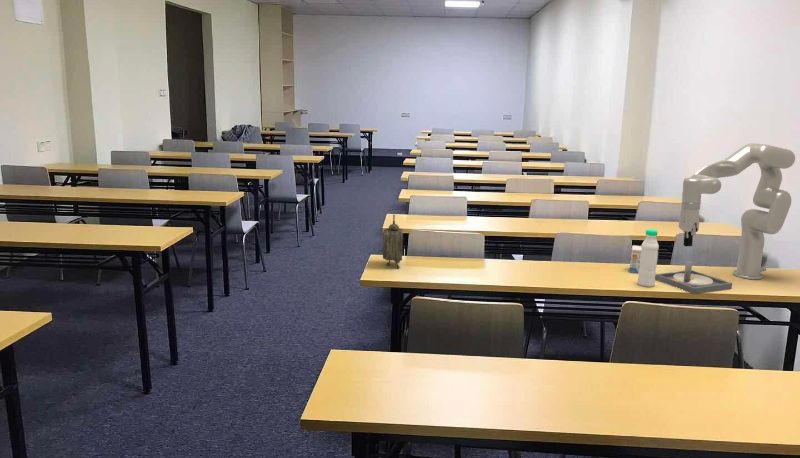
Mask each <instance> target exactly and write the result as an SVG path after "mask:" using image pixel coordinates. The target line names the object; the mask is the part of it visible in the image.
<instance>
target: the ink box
mask: <svg viewBox="0 0 800 458" xmlns="http://www.w3.org/2000/svg"><path fill="white" fill-rule="evenodd" d="M641 249H642V247H641V245H632V246H631V250H630V251H631V252H630V253H631V254H630V259H629V260H630V262H629V270H628V271H629V273H632V274H639V269H640V255H641Z"/></svg>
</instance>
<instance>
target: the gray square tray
mask: <svg viewBox="0 0 800 458" xmlns="http://www.w3.org/2000/svg"><path fill="white" fill-rule="evenodd" d="M678 273H685V270H681V271H680V270H679V271H678V270H675V271H670V272H663V273H656V276H655V281H658V282H660V283H663V284H666V285H668V286H671V287H674V288H676V287H677V288H676V289H679V288H680V289H679V290H682V289H683V290H682V291H684V290H685V292H687V291H688V293H690V294H693V295H697V294H705V293H711V292H717V291H718V292H719V291H724V290H731V289H732V288H733V283H732V282H731V281H730V282H729V281H726V280H723V279H720V278H717V277H714V276H711V275H708V274H705V273H702V272H698V271H695V270H691V274H698V275H702V276H706V277H709V278H711V279H712V280H713V284H712V285H708V286H700V287H697V286H690V285H687V284H684V283H681V282H680V281H677V280H674V279H673V275H675V274H678Z"/></svg>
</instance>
